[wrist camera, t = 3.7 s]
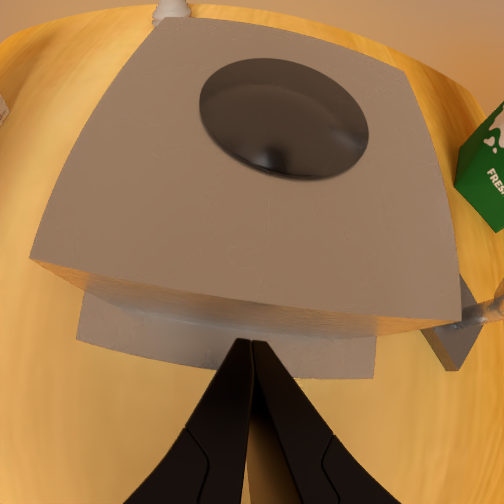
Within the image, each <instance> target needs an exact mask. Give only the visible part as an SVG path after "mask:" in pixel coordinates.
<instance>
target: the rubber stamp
mask: <svg viewBox="0 0 504 504" xmlns="http://www.w3.org/2000/svg"><path fill="white" fill-rule="evenodd" d="M459 277H460V290H461V312H462V321H459V322H454V323H450V324H445V325H440V326H435V327H430V328H424V329H420V330H421V332H422V333H423V335H424V336H425V338H426V339H427V341H428V342H429V344H430V345H431V347H432V349H433V350H434V352H435V353H436V355H437V357H438V358H439V360H440V362H441V363H442V365H443V366H444V368H445V370H446V371H458V370H459V369H460V367H461V366H462V364H463V362H464V360H465V359H466V357H467V355H468V353H469V352H470V350H471V348H472V346H473V344H474V342H475V341H476V339H477V337H478V335H479V333H480V331H481V329H482V327H483V325H484V324H487V323H492V322H496V321H500V320H503V321H504V278H503V280H502V281H501V283H500V284H499V286H498V288H497V290H496V292H495V295H494V299H491V300H488V301H484V302H481V303H478V304H477V302H476V301H475V299H474V297H473V295H472V293H471V292H470V290H469V288H468V287H467V285H466V283H465V281H464V280H463V278H462V276H461V275H460V273H459Z"/></svg>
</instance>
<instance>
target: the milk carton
mask: <svg viewBox="0 0 504 504" xmlns="http://www.w3.org/2000/svg"><path fill="white" fill-rule="evenodd" d="M454 187H455V188H456V189H457V190H458V191H459V192H460V193H461V194H462V195H463V196H464V197H465V198H466V200H467V201H468V202H469V203H470V204H471V205H472V206H473V207H474V208H475V209H476V210H477V211H478V213H479V214H480V215H481V216H482V217H483V218H484V219H485V221H486V222H487V223H488V224H489V225H490V226H491V228H492V229H493V230H494V231H495V233H497V232H499V231H500V230H502V229H503V228H504V101H503V102H502V104H501V105H500V106H499V107H498V108H497V109H496V110H495V111H494V112H493V113H492V114H491V115H490V116H489V117H488V118H487V119H486V120H485V121H484V122H483V123H482V124H481V125H480V126H479V127H478V128H477V129H476V131H475V132H474V133H473V134H472V135H471V136H470V137H469V138H468V140H467V141H466V142H465V143H464V144H463V145H462V146H461V147H460V150H459V158H458V165H457V172H456V178H455V184H454Z"/></svg>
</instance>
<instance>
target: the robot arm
mask: <svg viewBox="0 0 504 504" xmlns="http://www.w3.org/2000/svg"><path fill="white" fill-rule="evenodd" d="M246 461H247V471H248V481H249V491H250V500H251V504H401V503H400V502H399V501H398V500H397V499H395V498H394V497H393V496H392V495H391V494H390V493H389V492H388V491H387V490H386V489H385V488H383V487H382V486H381V485H380V484H379V483H378V482H377V481H376V480H375V479H374V478H373V477H372V476H371V475H370V474H369V473H368V472H367V471H366V470H365V469H364V468H363V467H362V466H361V465H360V464H359V463H358V462H357V461H356V460H355V459H354V457H353V456H352V455H351V454H350V453H349V451H348V450H347V449H346V448H345V447H344V445H343V444H342V443H341V442H340V440H339V439H338V438H337V436H336V435H333V431H332V430H331V429H330V427H329V426H328V425H327V423H326V422H325V421H324V419H323V418H322V417H321V415H320V414H319V413H318V411H317V410H316V409H315V407H314V406H313V405H312V403H311V402H310V401H309V399H308V398H307V397H306V395H305V394H304V392H303V391H302V390H301V388H300V387H299V386H298V384H297V383H296V381H295V380H294V379H293V377H292V376H291V374H290V373H289V372H288V370H287V369H286V368H285V366H284V365H283V363H282V362H281V360H280V359H279V358H278V356H277V355H276V353H275V352H274V351H273V349H272V348H271V346H270V345H269V343H268V342H267V341H263V340H252V341H251V340H250V339H246V338H236V339H235V340H234V342H233V344H232V346H231V347H230V349H229V351H228V353H227V354H226V356H225V358H224V360H223V361H222V363H221V365H220V367H219V368H218V370H217V372H216V374H215V375H214V377H213V379H212V380H211V382H210V384H209V386H208V387H207V389H206V391H205V392H204V394H203V396H202V398H201V399H200V401H199V403H198V404H197V406H196V408H195V409H194V411H193V413H192V414H191V416H190V418H189V419H188V421H187V423H186V424H185V428H183V429H182V431H181V432H180V434H179V436H178V437H177V439H176V440H175V442H174V443H173V445H172V446H171V448H170V449H169V451H168V452H167V454H166V455H165V457H164V458H163V459H162V460H161V462H160V463H159V464H158V465H157V466H156V468H155V469H154V470H153V471H152V473H151V474H150V475H149V476H148V477H147V478H146V479H145V480H144V481H143V482H142V484H141V485H140V486H139V487H138V488H137V489H136V490H135V491H134V492H133V493H132V494H131V495H130V496H129V497H128V499H127V500H126V501H125V502H124V503H123V504H241V497H242V488H243V480H244V472H245V463H246Z"/></svg>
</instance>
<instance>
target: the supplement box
mask: <svg viewBox="0 0 504 504" xmlns="http://www.w3.org/2000/svg"><path fill="white" fill-rule="evenodd" d="M9 112H10V110H9V108H8V106H7V105H6V103H5V101H4V99H3V97H2V95H1V93H0V126H1V124H2V123H3V121H4V120H5V119H6V117H7V116H8V114H9Z"/></svg>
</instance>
